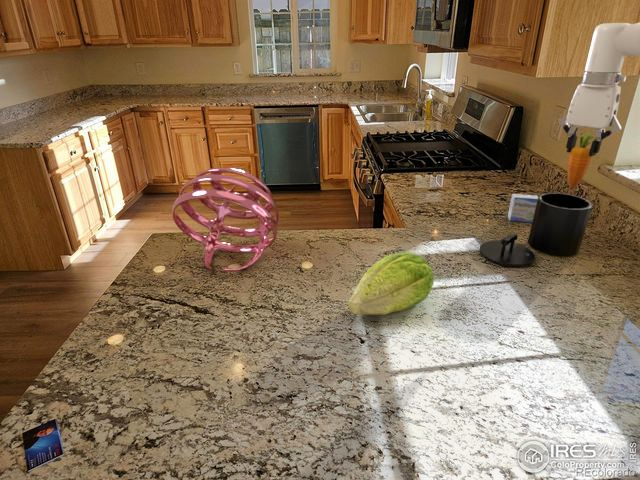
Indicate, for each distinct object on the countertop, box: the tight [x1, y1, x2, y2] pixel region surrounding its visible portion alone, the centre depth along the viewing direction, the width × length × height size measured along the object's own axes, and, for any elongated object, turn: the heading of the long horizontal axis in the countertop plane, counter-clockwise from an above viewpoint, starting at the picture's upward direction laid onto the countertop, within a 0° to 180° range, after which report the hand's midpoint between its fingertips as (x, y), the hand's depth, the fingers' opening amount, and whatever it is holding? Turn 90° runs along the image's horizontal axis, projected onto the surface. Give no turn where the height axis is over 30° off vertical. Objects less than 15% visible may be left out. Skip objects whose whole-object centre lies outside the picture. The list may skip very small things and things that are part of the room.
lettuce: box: [347, 252, 435, 316], centre depth 97 cm, size 13×22×14 cm
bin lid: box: [478, 232, 536, 267], centre depth 121 cm, size 15×15×6 cm
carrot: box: [567, 132, 594, 189], centre depth 112 cm, size 5×5×15 cm
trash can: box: [527, 192, 593, 258], centre depth 124 cm, size 14×14×14 cm
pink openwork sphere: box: [171, 167, 280, 273], centre depth 114 cm, size 28×28×27 cm
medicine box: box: [507, 193, 539, 224], centre depth 143 cm, size 8×4×9 cm, turn 76°
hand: (581, 152), depth 111 cm, fingers closed on carrot, 4 cm apart
